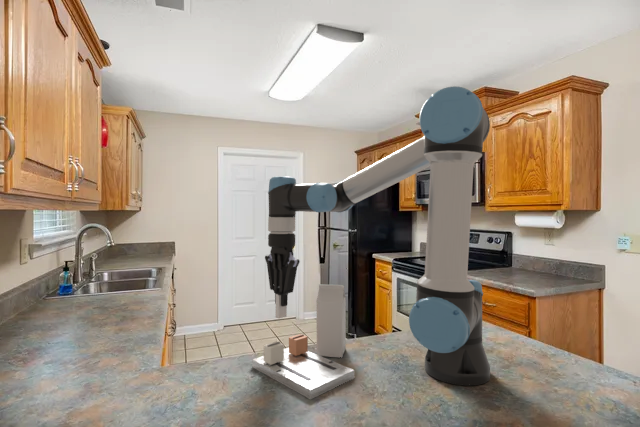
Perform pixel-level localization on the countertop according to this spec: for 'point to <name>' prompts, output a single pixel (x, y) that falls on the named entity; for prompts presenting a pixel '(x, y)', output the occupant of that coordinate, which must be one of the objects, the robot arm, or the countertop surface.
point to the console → (305, 373)
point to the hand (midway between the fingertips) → (281, 316)
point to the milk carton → (331, 320)
